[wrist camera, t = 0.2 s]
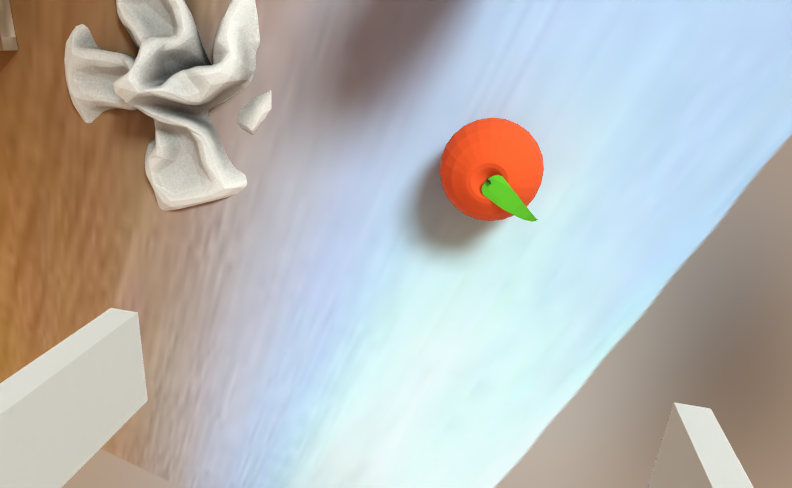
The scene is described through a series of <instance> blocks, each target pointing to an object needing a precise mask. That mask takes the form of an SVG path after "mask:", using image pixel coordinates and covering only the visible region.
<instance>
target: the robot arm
mask: <svg viewBox="0 0 792 488" xmlns="http://www.w3.org/2000/svg"><path fill="white" fill-rule="evenodd" d="M147 401H148V400H147V391H146V382H145V373H144V364H143V355H142V346H141V337H140V328H139V320H138V312H132V311H126V310H120V309H114V308H110V309H109V310H107V311H106V312H104V313H103V314H101V315H100V316H99V317H97V318H96V319H94V320H93V321H91V322H90V323H88V324H87V325H85V326H84V327H82V328H81V329H79V330H78V331H77V332H75V333H74V334H72V335H71V336H69V337H68V338H66V339H65V340H63V341H62V342H60V343H59V344H57V345H56V346H55V347H53V348H52V349H50V350H49V351H47V352H46V353H44V354H43V355H41V356H40V357H38V358H37V359H36V360H34V361H33V362H31V363H30V364H28V365H27V366H25V367H24V368H22V369H21V370H19V371H18V372H16V373H15V374H14V375H12V376H11V377H9V378H8V379H6V380H5V381H3V382H2V383H0V488H61V487H62V486H63V485H64V484H65V483H66V482H67V481H68V480H69V479H70V478H71V477H72V476H73V475H74V474H75V473H76V472H77V471H78V470H79V469H80V468H81V467H82V466H83V465H84V464H85V463H86V462H87V461H88V460H89V459H90V458H91V457H92V456H93V455H94V454H95V453H96V452H97V451H98V450H99V449H100V448H101V447H102V446H103V445H104V444H105V443H106V442H107V441H108V440H109V439H110V438H111V437H112V436H113V435H114V434H115V433H116V432H117V431H118V430H119V429H120V428H121V427H122V426H123V425H124V424H125V423H126V422H127V421H128V420H129V419H130V418H131V417H132V416H133V415H134V414H135V413H136V412H137V411H138V410H139V409H140V408H141V407H142V406H143V405H144V404H145V403H146V402H147ZM648 488H753V486H752V484H751V482H750V480H749V478H748V476H747V475H746V473H745V472H744V469H743V467H742V466H741V464H740V462H739V460H738V458H737V456H736V454H735V453H734V451H733V449H732V447H731V445H730V444H729V442H728V440H727V438H726V436H725V434H724V432H723V431H722V429H721V427H720V425H719V423H718V421H717V420H716V418H715V416H714V414H713V412H712V410H711V409H710V408H704V407H698V406H692V405H686V404H680V403H674V404H673V408H672V410H671V413H670V417H669V420H668V423H667V426H666V429H665V433H664V436H663V439H662V442H661V446H660V449H659V452H658V455H657V458H656V462H655V465H654V468H653V471H652V475H651V478H650V481H649V484H648Z"/></svg>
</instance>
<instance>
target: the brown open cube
mask: <svg viewBox="0 0 792 488" xmlns="http://www.w3.org/2000/svg"><path fill="white" fill-rule="evenodd" d="M6 50H18V47H17V41H16V36H15V30H14V24H13V19H12V13H11V8H10V2H9V0H0V51H6Z"/></svg>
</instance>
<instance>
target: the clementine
mask: <svg viewBox="0 0 792 488" xmlns="http://www.w3.org/2000/svg"><path fill="white" fill-rule="evenodd" d="M543 170H544V168H543V157H542V154H541V151H540V149H539V146H538V144H537V142H536V141H535V140H534V138H533V137H532V136H531V134H530V133H529V132H528V131H526V130H525V129H524V128H522V127H521V126H520V125H518V124H516V123H513V122H511V121H508V120H506V119H498V118H487V119H481V120H476V121H474V122H472V123H470V124H467V125H465V126H464V127H463V128H461V129H460V130H459V131H458V132H456V133H455V134H454V135H453V136H452V138H451V139H450V141H449V142H448V143H447V145H446V147H445V149H444V152H443V154H442V157H441V166H440V175H441V181H442V186H443V189H444V191H445V193H446V195H447V197H448V199H449V200H450V201H451V202H452V203H453V205H454V206H455V207H456V208H457V209H459V210H460V211H462V212H463V213H464V214H466V215H468V216H471V217H473V218H476V219H480V220H488V221H493V220H502V219H505V218H508V217H511V216H513V215H515V216H517V217H519V218H522V219H524V220H528V221H536V220H538V219H536V218H535V217H534V216H533V215H532V213H531V212H530V211H529V210H528V208H527V205H528V204H529V203H530V202H531V201H532V200H533V198H534V197H535V195H536V193H537V191H538V189H539V187H540V185H541V181H542V176H543Z"/></svg>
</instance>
